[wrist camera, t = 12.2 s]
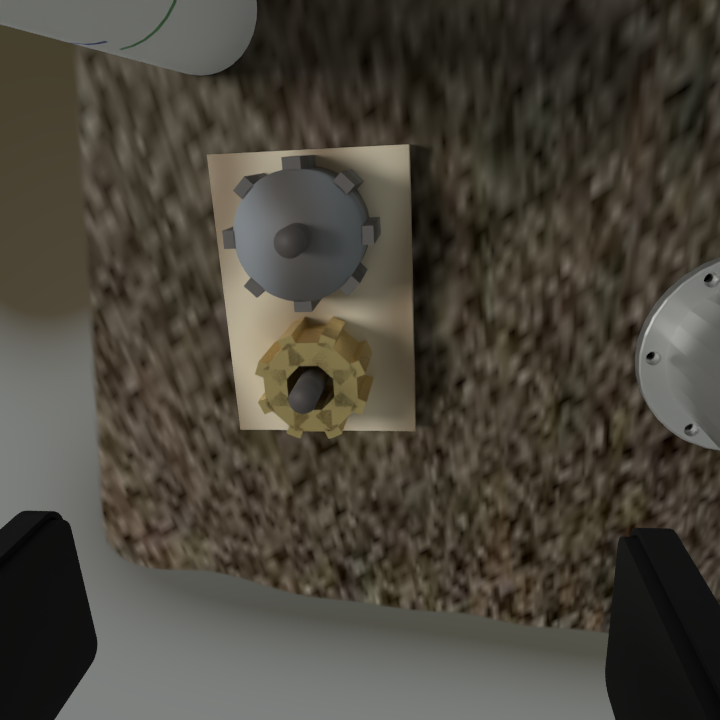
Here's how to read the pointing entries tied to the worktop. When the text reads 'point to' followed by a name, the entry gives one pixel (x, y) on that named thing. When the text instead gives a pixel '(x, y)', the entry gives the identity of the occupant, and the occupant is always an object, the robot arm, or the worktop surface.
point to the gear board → (357, 309)
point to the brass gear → (334, 357)
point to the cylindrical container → (145, 28)
